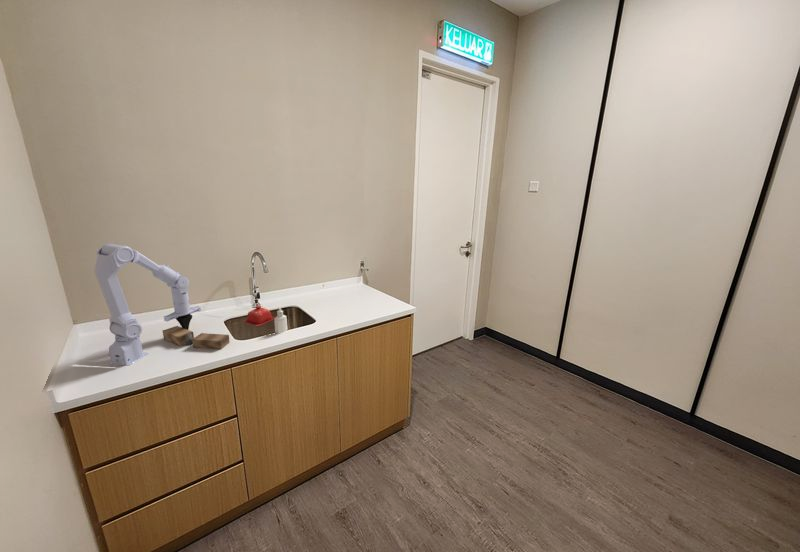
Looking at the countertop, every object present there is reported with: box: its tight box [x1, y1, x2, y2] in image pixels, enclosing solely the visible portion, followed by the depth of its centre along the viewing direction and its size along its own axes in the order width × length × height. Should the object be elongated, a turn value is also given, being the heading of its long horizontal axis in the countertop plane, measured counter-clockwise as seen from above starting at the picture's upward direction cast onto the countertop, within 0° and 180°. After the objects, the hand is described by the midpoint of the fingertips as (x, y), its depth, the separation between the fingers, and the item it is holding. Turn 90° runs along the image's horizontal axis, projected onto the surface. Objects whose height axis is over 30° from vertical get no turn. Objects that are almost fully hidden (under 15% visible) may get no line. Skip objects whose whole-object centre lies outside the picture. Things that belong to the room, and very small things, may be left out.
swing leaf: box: [162, 325, 195, 347], centre depth 143 cm, size 15×6×4 cm, turn 61°
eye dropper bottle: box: [274, 307, 288, 334], centre depth 152 cm, size 4×6×12 cm
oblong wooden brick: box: [192, 332, 230, 350], centre depth 139 cm, size 12×6×4 cm, turn 86°
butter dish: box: [242, 305, 276, 327], centre depth 164 cm, size 12×12×8 cm
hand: (185, 331), depth 147 cm, fingers closed
